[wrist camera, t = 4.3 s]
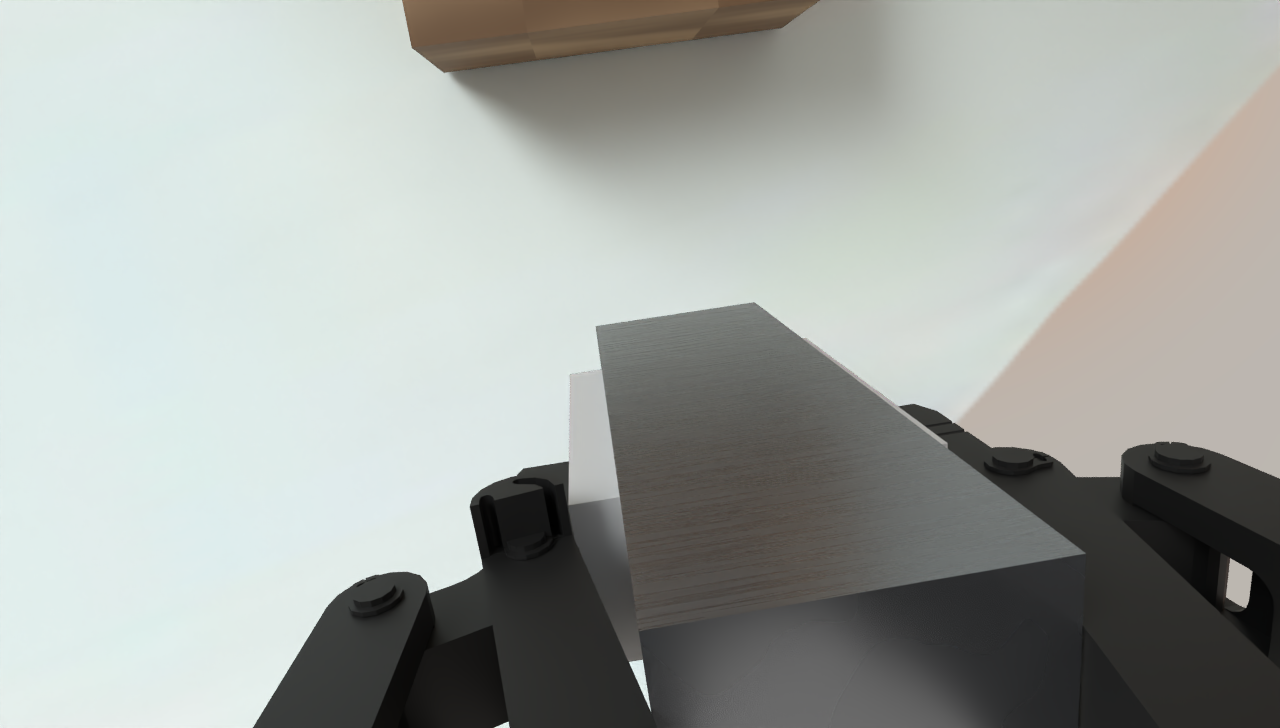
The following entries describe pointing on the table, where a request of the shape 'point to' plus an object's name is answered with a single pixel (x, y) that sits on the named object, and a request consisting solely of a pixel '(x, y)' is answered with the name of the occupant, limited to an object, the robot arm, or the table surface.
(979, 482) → the metal peg
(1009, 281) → the table surface
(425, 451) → the table surface
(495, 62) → the brown square hole block
